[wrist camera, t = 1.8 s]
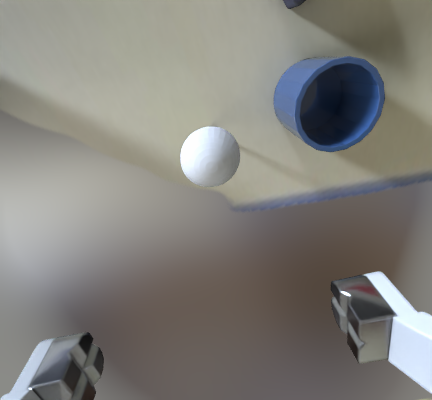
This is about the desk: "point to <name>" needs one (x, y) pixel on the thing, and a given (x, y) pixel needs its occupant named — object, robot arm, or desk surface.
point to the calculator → (293, 3)
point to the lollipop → (210, 156)
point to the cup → (330, 101)
